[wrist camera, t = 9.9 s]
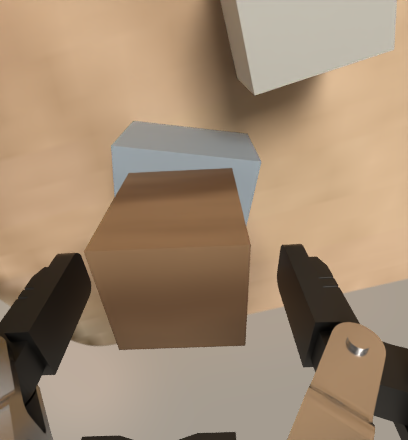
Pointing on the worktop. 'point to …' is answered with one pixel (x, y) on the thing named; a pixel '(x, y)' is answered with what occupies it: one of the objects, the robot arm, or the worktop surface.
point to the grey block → (304, 37)
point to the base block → (186, 154)
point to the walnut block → (174, 260)
